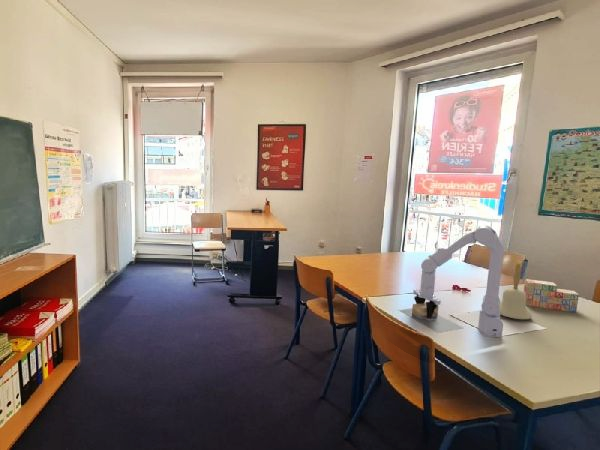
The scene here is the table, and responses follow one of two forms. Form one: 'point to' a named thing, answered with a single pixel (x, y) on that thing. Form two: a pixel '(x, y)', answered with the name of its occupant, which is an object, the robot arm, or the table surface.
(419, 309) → the felt eraser
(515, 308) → the handbell
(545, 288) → the stack of blocks
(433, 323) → the slate board
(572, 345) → the table surface
